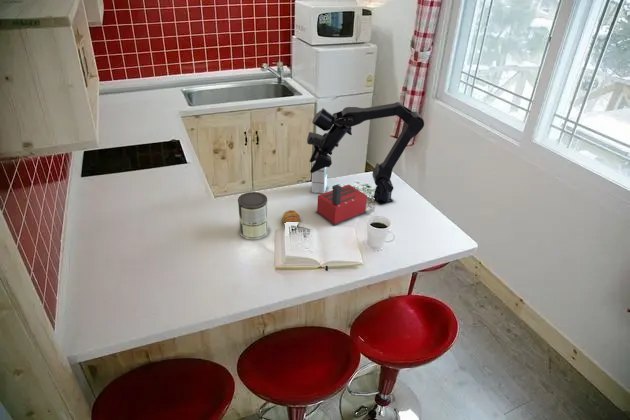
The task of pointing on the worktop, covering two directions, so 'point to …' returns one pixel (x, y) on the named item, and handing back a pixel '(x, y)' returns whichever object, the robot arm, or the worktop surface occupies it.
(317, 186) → the syrup box
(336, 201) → the slider
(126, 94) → the worktop surface
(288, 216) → the pastry
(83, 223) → the worktop surface
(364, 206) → the toaster
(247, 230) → the coffee can
